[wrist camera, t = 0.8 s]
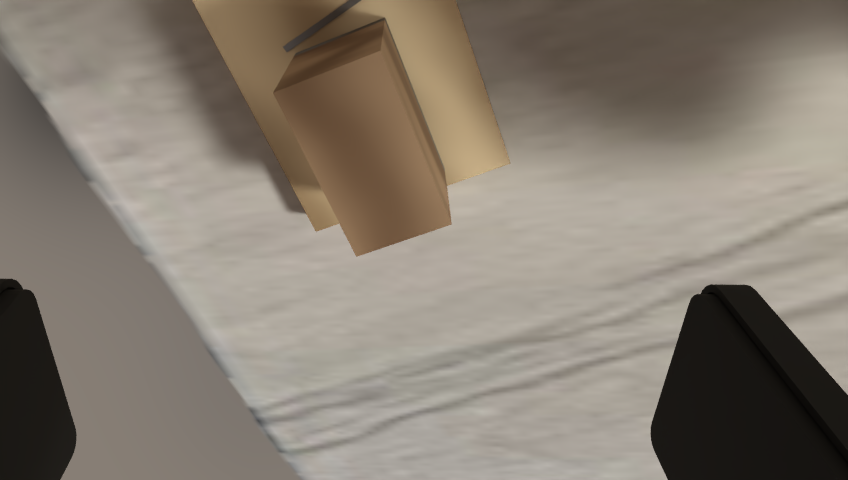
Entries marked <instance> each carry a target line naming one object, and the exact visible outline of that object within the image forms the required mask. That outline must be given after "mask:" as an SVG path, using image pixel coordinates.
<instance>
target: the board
mask: <svg viewBox="0 0 848 480" xmlns="http://www.w3.org/2000/svg"><path fill="white" fill-rule="evenodd" d="M192 1H193V3H194V5H195V6H196V8H197V10H198V12H199V14H200V16H201V18H202V20H203V21H204V23H205V25H206V27H207V29H208V31H209V33H210V35H211V36H212V38H213V40H214V42H215V44H216V46H217V48H218V49H219V51H220V53H221V55H222V57H223V59H224V61H225V63H226V64H227V66H228V68H229V70H230V72H231V74H232V76H233V77H234V79H235V81H236V83H237V85H238V87H239V89H240V91H241V92H242V94H243V96H244V98H245V100H246V102H247V104H248V106H249V107H250V109H251V111H252V113H253V115H254V117H255V119H256V120H257V122H258V124H259V126H260V128H261V130H262V132H263V134H264V135H265V137H266V139H267V141H268V143H269V145H270V147H271V149H272V150H273V152H274V154H275V156H276V158H277V160H278V162H279V163H280V165H281V167H282V169H283V171H284V173H285V175H286V177H287V178H288V180H289V182H290V184H291V186H292V188H293V190H294V191H295V193H296V195H297V197H298V199H299V201H300V203H301V205H302V206H303V208H304V210H305V212H306V214H307V216H308V218H309V220H310V221H311V223H312V225H313V227H314V229H315V231H319V230H322V229H325V228H328V227H331V226H333V225H336V224H339V222H338V220H337V218H336V216H335V214H334V212H333V210H332V208H331V206H330V204H329V202H328V200H327V198H326V196H325V194H324V192H323V190H322V188H321V186H320V184H319V182H318V180H317V178H316V176H315V174H314V172H313V171H312V169H311V167H310V165H309V163H308V161H307V159H306V157H305V155H304V153H303V151H302V149H301V147H300V145H299V143H298V141H297V139H296V137H295V135H294V133H293V131H292V129H291V127H290V125H289V123H288V121H287V120H286V118H285V116H284V114H283V112H282V110H281V108H280V106H279V104H278V102H277V100H276V98H275V96H274V94H273V92H274V90H275V88H276V87H277V85H278V83H279V81H280V80H281V78H282V76H283V74H284V73H285V71H286V69H287V67H288V66H289V64H290V62H291V60H292V59H293V57H294V55H295V53H297V52H300V51H302V50H305V49H307V48H310V47H312V46H315V45H317V44H320V43H322V42H325V41H327V40H330V39H332V38H335V37H337V36H340V35H342V34H345V33H347V32H350V31H352V30H355V29H357V28H360V27H362V26H365V25H367V24H370V23H372V22H375V21H377V20H380V19H382V18H386V21H387V24H388V26H389V29H390V31H391V34H392V36H393V39H394V41H395V44H396V46H397V49H398V51H399V54H400V56H401V59H402V62H403V64H404V67H405V69H406V72H407V74H408V77H409V79H410V82H411V84H412V87H413V89H414V92H415V94H416V97H417V99H418V102H419V105H420V107H421V110H422V112H423V115H424V117H425V120H426V122H427V125H428V127H429V130H430V132H431V135H432V137H433V140H434V143H435V145H436V148H437V150H438V153H439V155H440V158H441V160H442V163H443V165H444V168H445V176H446V184H447V186H448V185H450V184H453V183H456V182H459V181H462V180H465V179H468V178H470V177H473V176H476V175H479V174H482V173H485V172H488V171H490V170H493V169H496V168H499V167H502V166H505V165H507V164H510V160H509V157H508V154H507V151H506V148H505V145H504V142H503V139H502V136H501V133H500V130H499V128H498V125H497V122H496V119H495V116H494V113H493V110H492V107H491V104H490V101H489V98H488V95H487V92H486V89H485V86H484V83H483V80H482V77H481V74H480V71H479V68H478V65H477V62H476V59H475V56H474V53H473V50H472V47H471V44H470V41H469V38H468V35H467V32H466V30H465V27H464V24H463V21H462V18H461V15H460V12H459V9H458V6H457V3H456V0H192Z"/></svg>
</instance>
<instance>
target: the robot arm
mask: <svg viewBox="0 0 848 480" xmlns="http://www.w3.org/2000/svg"><path fill="white" fill-rule="evenodd" d="M651 441H652V445H653V448H654V451H655V453H656V455H657V457H658V459H659V462H660V464H661V466H662V468H663V470H664V472H665V474H666V477H667V479H668V480H848V395H847V394H846V393H845V392H844V390H843V389H842V388H841V387H840V386H839V385H838V384H837V383H836V381H835V380H834V379H833V378H832V377H831V376H830V375H829V373H828V372H827V371H826V370H825V369H824V368H823V367H822V365H821V364H820V363H819V362H818V361H817V360H816V359H815V357H814V356H813V355H812V354H811V353H810V352H809V351H808V349H807V348H806V347H805V346H804V345H803V344H802V343H801V341H800V340H799V339H798V338H797V337H796V336H795V335H794V334H793V332H792V331H791V330H790V329H789V328H788V327H787V326H786V324H785V323H784V322H783V321H782V320H781V319H780V318H779V316H778V315H777V314H776V313H775V312H774V311H773V310H772V308H771V307H770V306H769V305H768V304H767V303H766V302H765V300H764V299H763V298H762V297H761V296H760V295H759V294H758V292H757V291H756V290H755V289H753V288H752V287H751V286H748V285H708V286H706V287H705V288H704V289H703V290H702V293H701V294H697V295H694V296H693V297H692V298H691V300H690V303H689V306H688V309H687V312H686V315H685V318H684V322H683V325H682V328H681V331H680V334H679V338H678V341H677V344H676V347H675V350H674V354H673V357H672V360H671V363H670V366H669V370H668V373H667V376H666V379H665V382H664V386H663V389H662V392H661V395H660V398H659V402H658V405H657V408H656V411H655V414H654V418H653V421H652V425H651ZM75 446H76V429H75V425H74V422H73V419H72V416H71V412H70V409H69V406H68V402H67V399H66V396H65V393H64V389H63V386H62V383H61V379H60V376H59V373H58V370H57V366H56V363H55V360H54V356H53V353H52V350H51V347H50V343H49V340H48V337H47V334H46V330H45V327H44V324H43V321H42V317H41V314H40V310H39V307H38V304H37V301H36V298H35V296H34V294H33V293H32V292H31V291H30V290H23V288H22V286H21V285H20V284H19V283H18V282H17V281H16V280H13V279H0V480H60V479H61V477H62V475H63V473H64V471H65V470H66V468H67V466H68V464H69V462H70V460H71V458H72V455H73V453H74V449H75Z"/></svg>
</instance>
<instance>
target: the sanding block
mask: <svg viewBox="0 0 848 480" xmlns="http://www.w3.org/2000/svg"><path fill="white" fill-rule="evenodd" d="M273 94H274V96H275V98H276V100H277V102H278V104H279V106H280V108H281V110H282V112H283V114H284V116H285V118H286V120H287V121H288V123H289V125H290V127H291V129H292V131H293V133H294V135H295V137H296V139H297V141H298V143H299V145H300V147H301V149H302V151H303V153H304V155H305V157H306V159H307V161H308V163H309V165H310V167H311V169H312V171H313V172H314V174H315V176H316V178H317V180H318V182H319V184H320V186H321V188H322V190H323V192H324V194H325V196H326V198H327V200H328V202H329V204H330V206H331V208H332V210H333V212H334V214H335V216H336V218H337V220H338V222H339V223H340V225H341V227H342V229H343V231H344V233H345V235H346V237H347V239H348V241H349V243H350V245H351V247H352V249H353V251H354V253H355V255H356V257H357V256H360V255H363V254H366V253H369V252H372V251H374V250H377V249H380V248H383V247H386V246H389V245H392V244H395V243H398V242H401V241H404V240H407V239H410V238H413V237H416V236H419V235H422V234H424V233H427V232H430V231H433V230H436V229H439V228H442V227H445V226H448V225H451V216H450V208H449V200H448V192H447V184H446V176H445V168H444V165H443V163H442V160H441V158H440V155H439V153H438V150H437V148H436V145H435V143H434V140H433V137H432V135H431V132H430V130H429V127H428V125H427V122H426V120H425V117H424V115H423V112H422V110H421V107H420V105H419V102H418V99H417V97H416V94H415V92H414V89H413V87H412V84H411V82H410V79H409V77H408V74H407V72H406V69H405V67H404V64H403V62H402V59H401V56H400V54H399V51H398V49H397V46H396V44H395V41H394V39H393V36H392V34H391V31H390V29H389V26H388V24H387V21H386V18H382V19H380V20H377V21H375V22H372V23H370V24H367V25H365V26H362V27H360V28H357V29H355V30H352V31H350V32H347V33H345V34H342V35H340V36H337V37H335V38H332V39H330V40H327V41H325V42H322V43H320V44H317V45H315V46H312V47H310V48H307V49H305V50H302V51H300V52H297V53H295V55H294V57H293V59H292V60H291V62H290V64H289V66H288V67H287V69H286V71H285V73H284V74H283V76H282V78H281V80H280V81H279V83H278V85H277V87H276V88H275V90H274V92H273Z"/></svg>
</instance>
